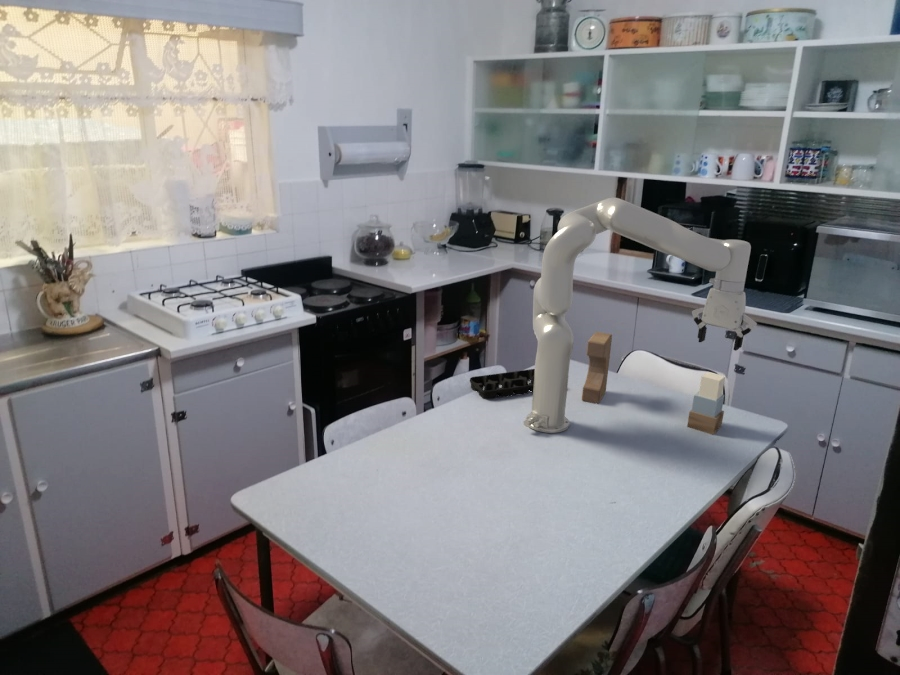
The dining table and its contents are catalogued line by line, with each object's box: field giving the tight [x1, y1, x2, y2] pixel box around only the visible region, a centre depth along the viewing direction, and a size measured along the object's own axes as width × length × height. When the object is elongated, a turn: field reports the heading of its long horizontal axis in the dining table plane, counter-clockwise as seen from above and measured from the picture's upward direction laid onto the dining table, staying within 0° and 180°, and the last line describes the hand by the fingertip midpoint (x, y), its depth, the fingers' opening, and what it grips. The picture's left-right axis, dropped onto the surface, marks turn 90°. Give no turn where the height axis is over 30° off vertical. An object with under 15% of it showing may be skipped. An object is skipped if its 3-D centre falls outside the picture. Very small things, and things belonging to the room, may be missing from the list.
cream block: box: [698, 371, 726, 400], centre depth 186 cm, size 5×5×6 cm
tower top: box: [691, 391, 725, 418], centre depth 188 cm, size 6×6×5 cm
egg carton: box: [469, 368, 535, 400], centre depth 213 cm, size 18×30×4 cm, turn 125°
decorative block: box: [581, 331, 613, 405], centre depth 206 cm, size 11×6×20 cm, turn 155°
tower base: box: [686, 409, 725, 435], centre depth 190 cm, size 8×8×5 cm
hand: (718, 345), depth 182 cm, fingers open, 9 cm apart
